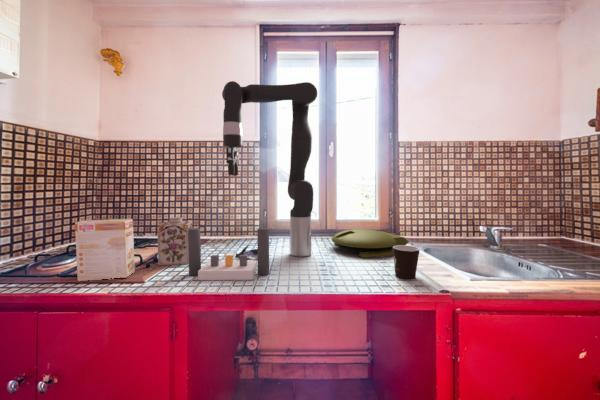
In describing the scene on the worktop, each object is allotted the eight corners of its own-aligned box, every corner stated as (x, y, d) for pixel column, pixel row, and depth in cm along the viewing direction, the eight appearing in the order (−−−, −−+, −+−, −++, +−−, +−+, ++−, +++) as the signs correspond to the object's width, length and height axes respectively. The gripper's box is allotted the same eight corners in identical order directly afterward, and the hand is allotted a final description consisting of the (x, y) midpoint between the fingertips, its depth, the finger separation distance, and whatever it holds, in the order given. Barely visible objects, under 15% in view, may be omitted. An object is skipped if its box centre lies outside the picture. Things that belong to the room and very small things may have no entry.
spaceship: (380, 241, 158) (380, 224, 157) (419, 255, 129) (419, 233, 128) (321, 245, 147) (322, 227, 146) (350, 261, 118) (350, 238, 117)
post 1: (202, 272, 102) (201, 228, 101) (199, 276, 98) (198, 230, 97) (191, 272, 102) (190, 228, 101) (187, 276, 98) (186, 230, 97)
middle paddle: (233, 264, 101) (233, 254, 100) (232, 266, 99) (232, 255, 99) (226, 264, 100) (226, 254, 100) (225, 266, 99) (225, 255, 99)
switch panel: (257, 268, 106) (256, 251, 106) (252, 279, 94) (252, 260, 94) (208, 268, 106) (208, 251, 105) (198, 280, 94) (197, 260, 93)
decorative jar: (157, 266, 109) (156, 219, 108) (165, 258, 121) (164, 216, 119) (190, 264, 112) (189, 219, 111) (194, 256, 123) (193, 215, 122)
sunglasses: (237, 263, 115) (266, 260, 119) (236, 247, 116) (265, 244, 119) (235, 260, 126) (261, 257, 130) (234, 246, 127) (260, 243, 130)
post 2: (269, 271, 102) (269, 228, 101) (268, 275, 98) (268, 230, 97) (258, 272, 102) (258, 228, 101) (257, 275, 98) (256, 230, 97)
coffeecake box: (135, 272, 101) (133, 218, 100) (126, 279, 94) (124, 221, 93) (89, 274, 99) (86, 219, 98) (76, 281, 92) (73, 222, 91)
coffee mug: (416, 282, 92) (417, 252, 91) (389, 278, 96) (389, 248, 96) (422, 273, 101) (422, 245, 101) (397, 269, 106) (398, 242, 105)
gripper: (239, 131, 107) (239, 174, 108) (244, 137, 121) (245, 175, 122) (219, 131, 106) (220, 174, 107) (227, 137, 121) (227, 175, 122)
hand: (233, 175), depth 115 cm, fingers open, 8 cm apart
